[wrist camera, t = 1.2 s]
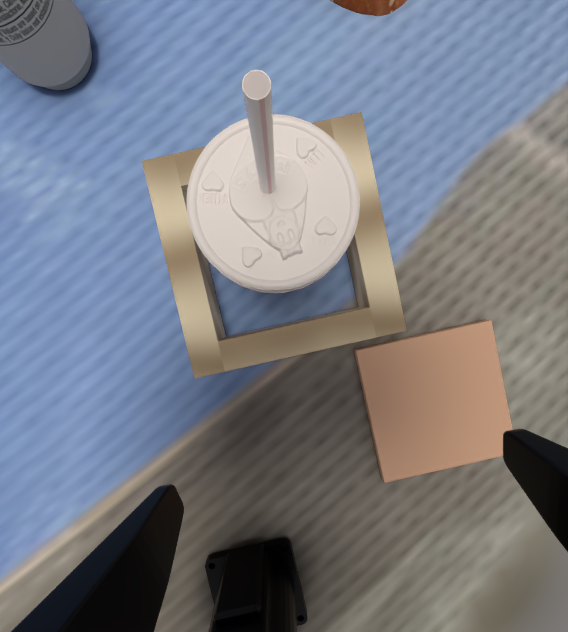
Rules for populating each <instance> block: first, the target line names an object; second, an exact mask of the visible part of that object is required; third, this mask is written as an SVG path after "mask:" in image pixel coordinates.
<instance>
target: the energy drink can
mask: <svg viewBox="0 0 568 632" xmlns="http://www.w3.org/2000/svg"><path fill="white" fill-rule="evenodd" d="M0 62H1V63H3V64H4V65H5V66H6V67H7V68H8V69H9V70H11V71H12V72H13V73H14V74H15V75H16V76H17V77H19V78H20V79H22V80H24V81H25V82H27V83H30V84H33V85H36V86H42V87H45V88H48V89H52V90H65V89H68V88H71V87H73V86H75V85H77V84H78V83H79V82H81V81H82V80H83V79H84V77H85V76H86V75H87V73H88V71H89V69H90V65H91V62H92V49H91V45H90V37H89V30H88V27H87V24H86V22H85V20H84V18H83V16H82V14H81V13H80V11H79V10H78V8H77V7H76V5H75V4H74V2H73V1H72V0H0Z"/></svg>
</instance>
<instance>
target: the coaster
mask: <svg viewBox="0 0 568 632" xmlns="http://www.w3.org/2000/svg"><path fill="white" fill-rule="evenodd" d="M354 353H355V358H356V363H357V367H358V372H359V376H360V381H361V386H362V390H363V395H364V400H365V404H366V409H367V414H368V418H369V423H370V428H371V432H372V437H373V441H374V446H375V451H376V455H377V460H378V465H379V469H380V474H381V478H382V480H383V481H384V483H386V482H390V481H394V480H399V479H403V478H407V477H412V476H416V475H421V474H425V473H429V472H434V471H438V470H443V469H447V468H451V467H456V466H460V465H464V464H469V463H473V462H478V461H482V460H486V459H491V458H495V457H500V456H503V433H504V432H505V431H509V430H512V425H511V420H510V415H509V410H508V404H507V399H506V394H505V389H504V384H503V378H502V373H501V368H500V363H499V358H498V352H497V347H496V342H495V337H494V332H493V326H492V321H491V320H482V321H477V322H473V323H468V324H464V325H460V326H455V327H451V328H446V329H442V330H437V331H433V332H429V333H424V334H420V335H415V336H411V337H406V338H402V339H398V340H393V341H389V342H384V343H380V344H376V345H371V346H367V347H362V348H358V349H354Z"/></svg>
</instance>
